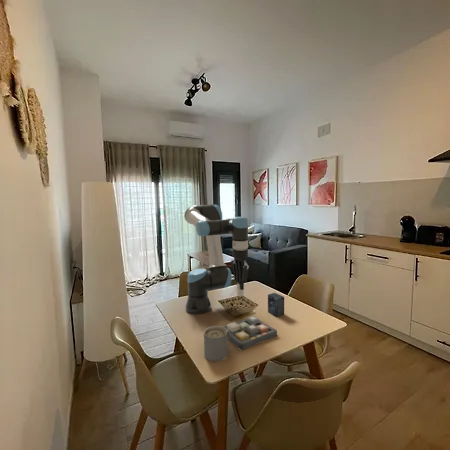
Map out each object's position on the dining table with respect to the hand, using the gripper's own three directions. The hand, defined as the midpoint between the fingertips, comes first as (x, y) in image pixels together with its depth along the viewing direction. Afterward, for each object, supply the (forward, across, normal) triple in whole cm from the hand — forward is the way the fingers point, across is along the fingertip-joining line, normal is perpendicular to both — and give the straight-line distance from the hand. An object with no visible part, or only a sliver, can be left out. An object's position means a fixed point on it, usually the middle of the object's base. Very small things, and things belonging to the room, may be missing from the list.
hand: (240, 295), depth 129 cm
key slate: (+14, +3, +5) cm, 16 cm away
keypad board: (+17, +7, 0) cm, 19 cm away
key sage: (+16, +3, -1) cm, 16 cm away
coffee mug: (+17, +12, -19) cm, 29 cm away
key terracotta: (+16, +10, +6) cm, 20 cm away
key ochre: (+16, +10, -6) cm, 20 cm away
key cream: (+14, +3, -7) cm, 16 cm away
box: (+18, -3, +26) cm, 32 cm away
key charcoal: (+14, +10, 0) cm, 17 cm away
